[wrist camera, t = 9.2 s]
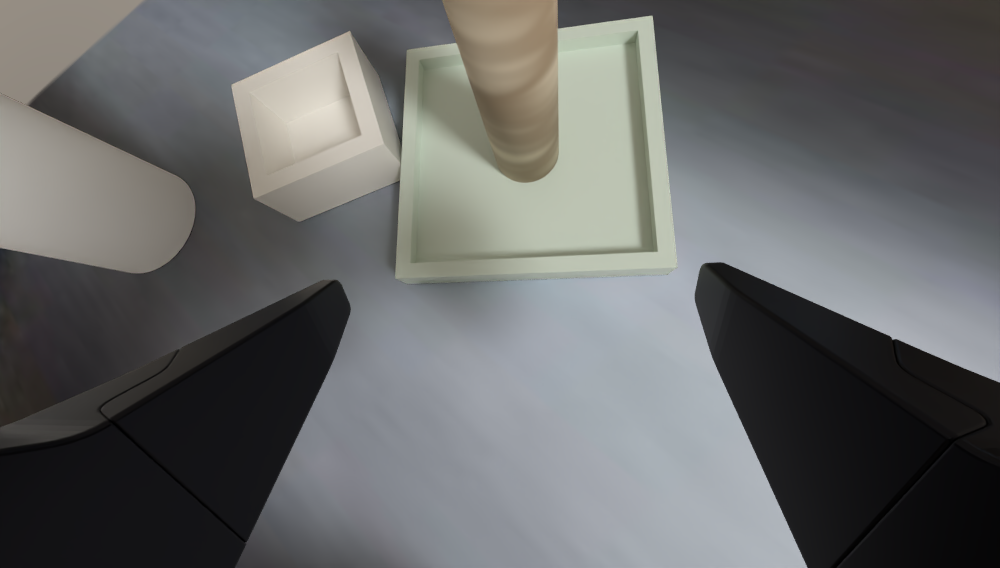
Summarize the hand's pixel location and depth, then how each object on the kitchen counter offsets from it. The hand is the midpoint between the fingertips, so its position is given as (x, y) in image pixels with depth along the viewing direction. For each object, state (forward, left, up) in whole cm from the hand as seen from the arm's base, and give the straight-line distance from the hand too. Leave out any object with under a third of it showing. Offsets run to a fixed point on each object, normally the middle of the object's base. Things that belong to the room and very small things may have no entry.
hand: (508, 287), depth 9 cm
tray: (+8, +5, -10) cm, 14 cm away
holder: (+3, +16, -10) cm, 20 cm away
